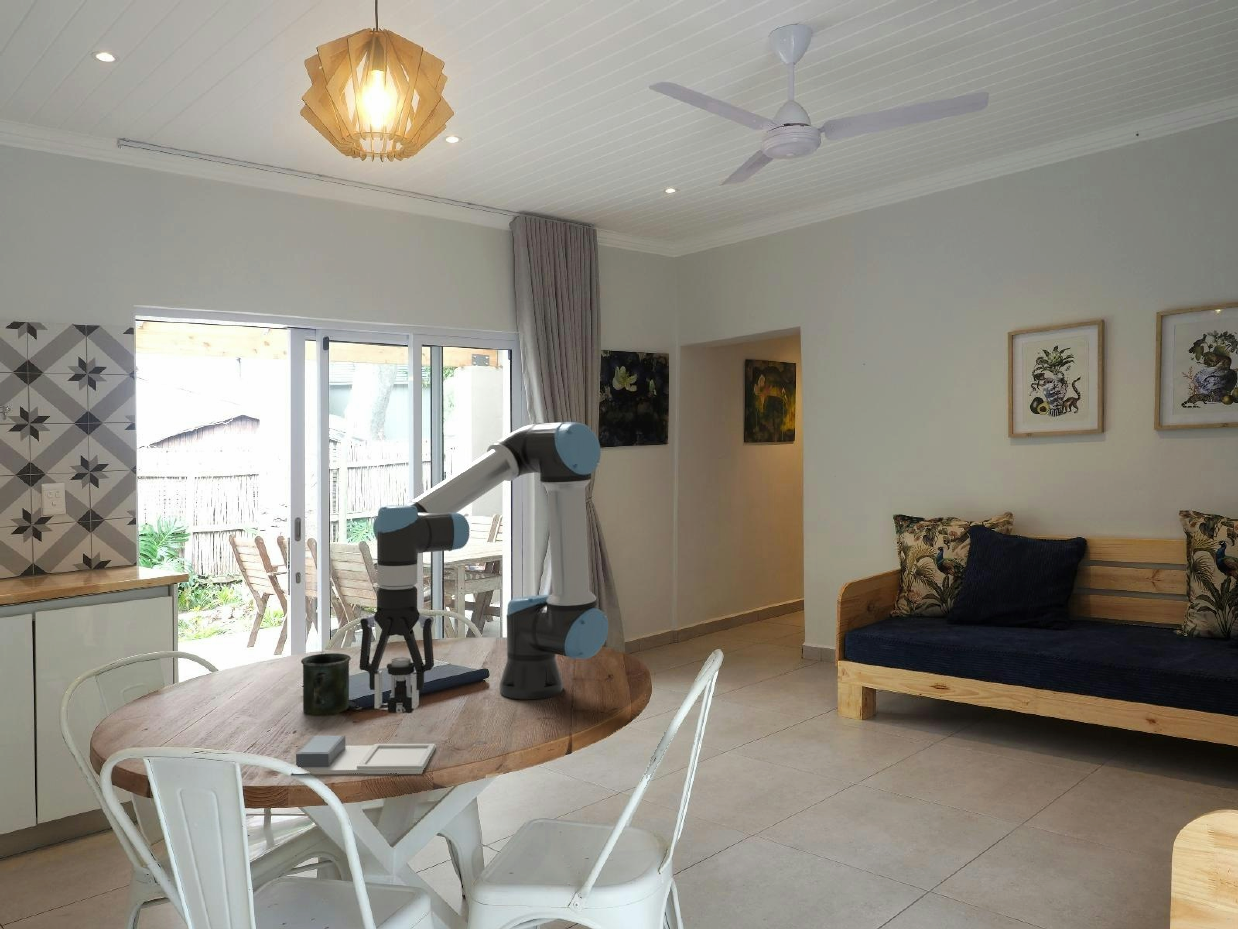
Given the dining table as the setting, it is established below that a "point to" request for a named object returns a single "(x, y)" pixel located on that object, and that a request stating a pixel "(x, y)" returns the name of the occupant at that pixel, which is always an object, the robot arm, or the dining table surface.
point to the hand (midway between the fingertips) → (396, 706)
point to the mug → (325, 683)
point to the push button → (400, 686)
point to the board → (379, 759)
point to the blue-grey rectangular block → (320, 751)
